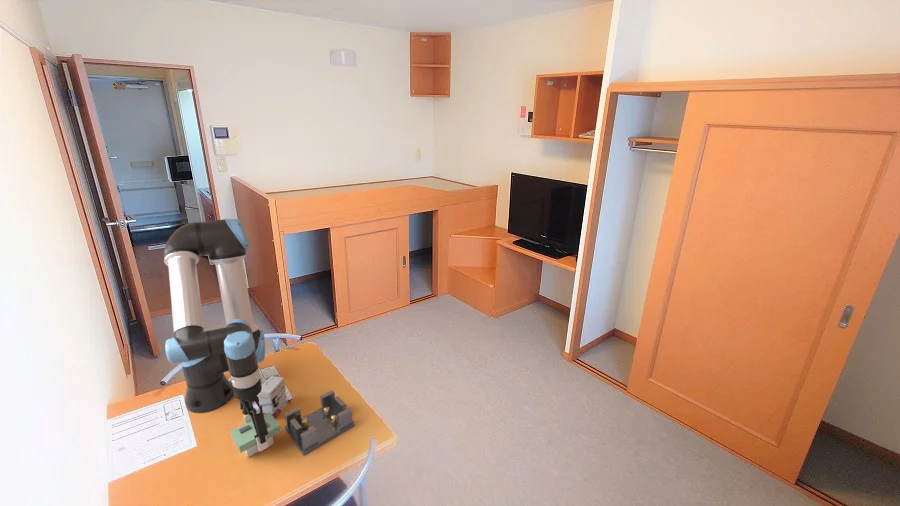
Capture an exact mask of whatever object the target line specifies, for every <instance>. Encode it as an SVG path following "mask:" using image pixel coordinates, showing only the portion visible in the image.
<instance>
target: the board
mask: <svg viewBox="0 0 900 506" xmlns="http://www.w3.org/2000/svg"><path fill="white" fill-rule="evenodd" d="M264 419H265V423H266V427H267V431H268V435H266V437H267V439H268V438H270V437H272V436H273V437H274V436H276V435H278V434H279V433H281V426H280V424H279V423H278V421H277V420H276V419H275V418H274V417H273V416H272V414H271V413H270V412H269V413H267V414H265V415H264ZM255 434H256V431H255V428H254V425H253V422H252V421H250V422H248V423H246V424H245V423H244V424H242V425H239V426H238V427H236V428H234V429H231V430H230V435H231V438H232V440H233V442H234V444H235V446H236V448H237V450H238V452H239V453H240V454H241V453H243V452H244V451H245V450H247V449H249V448H251V447H253V446H255V445H257V440H256V438H255V437H254V436H255Z"/></svg>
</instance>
